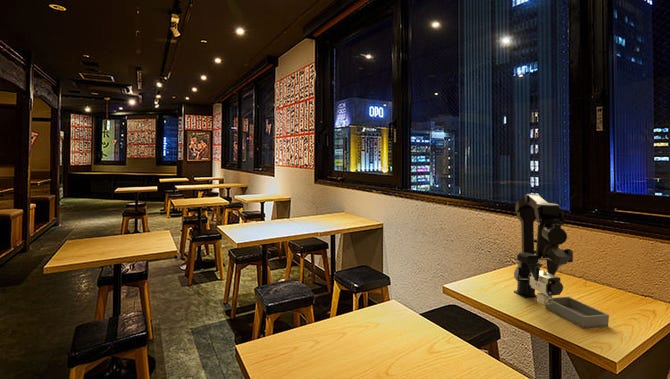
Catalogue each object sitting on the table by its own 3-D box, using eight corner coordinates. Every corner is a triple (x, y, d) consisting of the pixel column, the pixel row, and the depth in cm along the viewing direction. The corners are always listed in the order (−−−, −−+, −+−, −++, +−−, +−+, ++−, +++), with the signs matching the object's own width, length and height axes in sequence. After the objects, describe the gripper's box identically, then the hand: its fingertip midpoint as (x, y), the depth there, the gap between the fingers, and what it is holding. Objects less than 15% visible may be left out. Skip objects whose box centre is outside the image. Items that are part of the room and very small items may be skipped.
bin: (545, 308, 131) (545, 298, 131) (567, 306, 133) (568, 296, 132) (582, 328, 115) (583, 317, 115) (608, 326, 117) (609, 315, 117)
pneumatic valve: (537, 296, 131) (538, 265, 130) (563, 309, 120) (564, 276, 119) (525, 297, 130) (525, 267, 129) (549, 311, 119) (550, 277, 118)
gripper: (541, 244, 113) (538, 290, 115) (588, 242, 117) (584, 287, 118) (517, 237, 124) (514, 278, 126) (561, 235, 128) (558, 276, 129)
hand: (543, 280), depth 124 cm, fingers closed on pneumatic valve, 5 cm apart
